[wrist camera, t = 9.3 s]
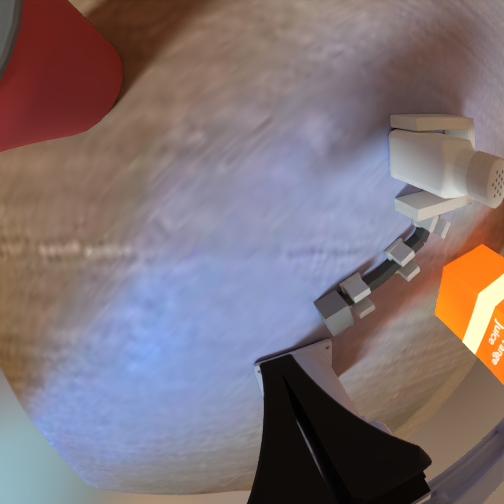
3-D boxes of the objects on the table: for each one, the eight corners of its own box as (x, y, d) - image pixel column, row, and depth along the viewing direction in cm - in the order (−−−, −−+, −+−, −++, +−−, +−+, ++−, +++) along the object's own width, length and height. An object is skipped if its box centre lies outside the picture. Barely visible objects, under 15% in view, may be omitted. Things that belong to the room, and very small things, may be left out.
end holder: (450, 193, 23) (471, 203, 20) (394, 209, 22) (417, 221, 19) (449, 114, 19) (473, 117, 16) (389, 114, 18) (415, 117, 15)
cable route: (439, 217, 24) (456, 226, 21) (324, 323, 25) (336, 339, 23) (432, 194, 22) (450, 202, 20) (309, 306, 24) (320, 323, 22)
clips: (440, 223, 24) (455, 232, 22) (352, 312, 26) (364, 326, 24) (428, 192, 22) (445, 200, 20) (332, 289, 24) (344, 304, 22)
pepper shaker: (386, 177, 20) (479, 219, 12) (385, 128, 18) (486, 150, 10) (419, 173, 21) (506, 210, 13) (419, 128, 19) (512, 151, 11)
